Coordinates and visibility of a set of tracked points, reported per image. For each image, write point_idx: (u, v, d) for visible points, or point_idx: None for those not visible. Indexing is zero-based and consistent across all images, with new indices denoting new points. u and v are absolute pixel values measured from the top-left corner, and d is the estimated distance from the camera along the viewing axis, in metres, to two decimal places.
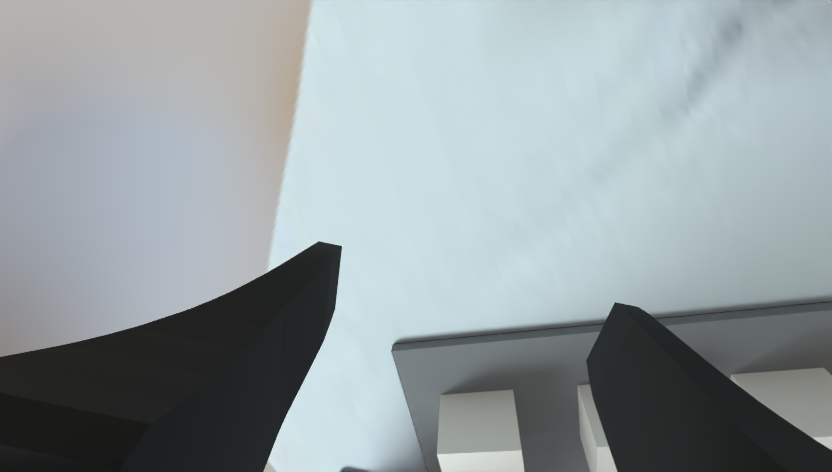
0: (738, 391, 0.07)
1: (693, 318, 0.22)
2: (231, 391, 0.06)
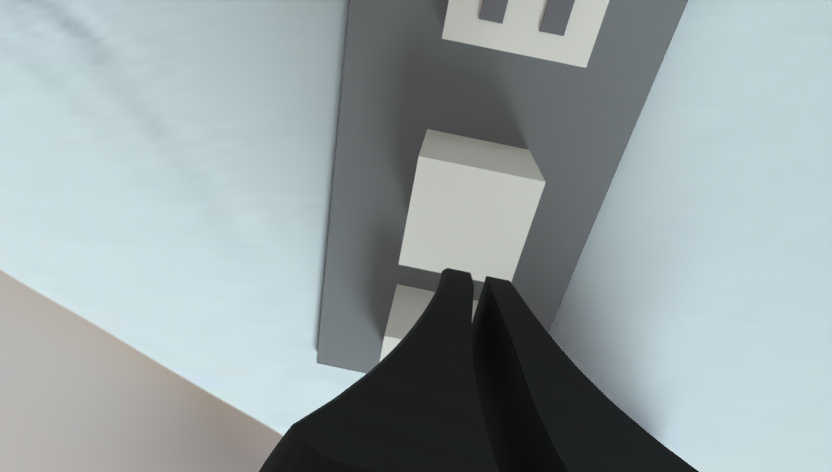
0: (556, 354, 0.07)
1: (345, 68, 0.17)
2: None
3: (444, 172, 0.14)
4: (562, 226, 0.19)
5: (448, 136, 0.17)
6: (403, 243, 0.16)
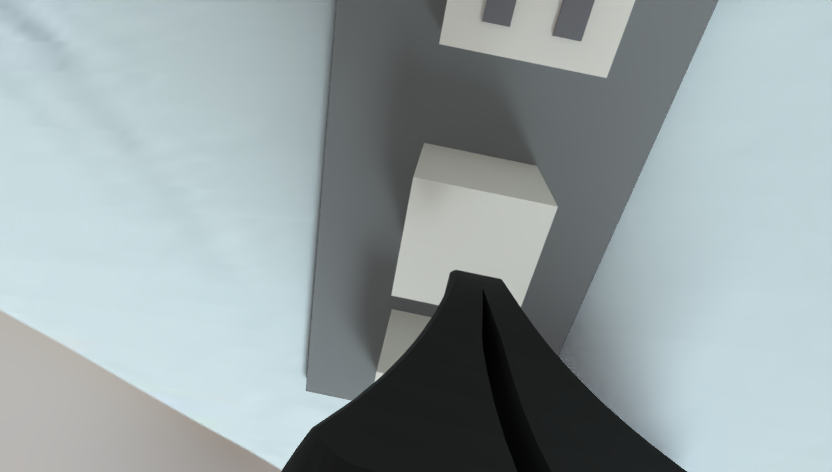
0: (545, 351, 0.07)
1: (333, 76, 0.16)
2: None
3: (442, 196, 0.13)
4: (572, 248, 0.17)
5: (447, 151, 0.16)
6: (396, 272, 0.14)
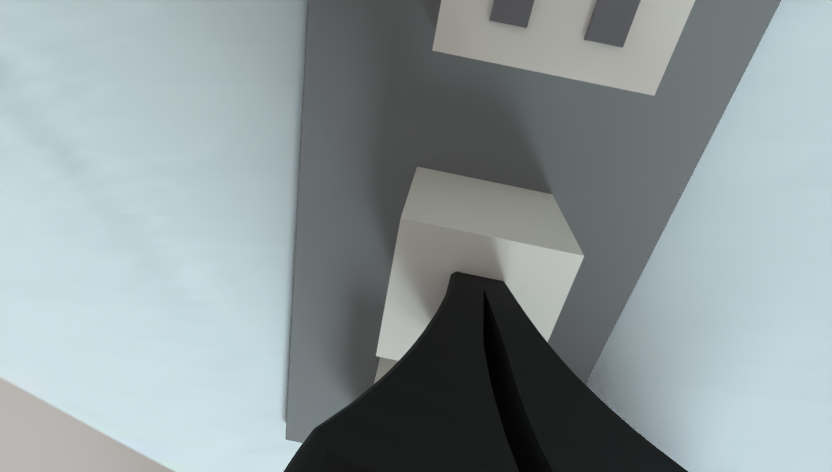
0: (546, 351, 0.07)
1: (307, 86, 0.13)
2: None
3: (438, 241, 0.10)
4: (593, 289, 0.15)
5: (445, 177, 0.13)
6: (382, 330, 0.12)
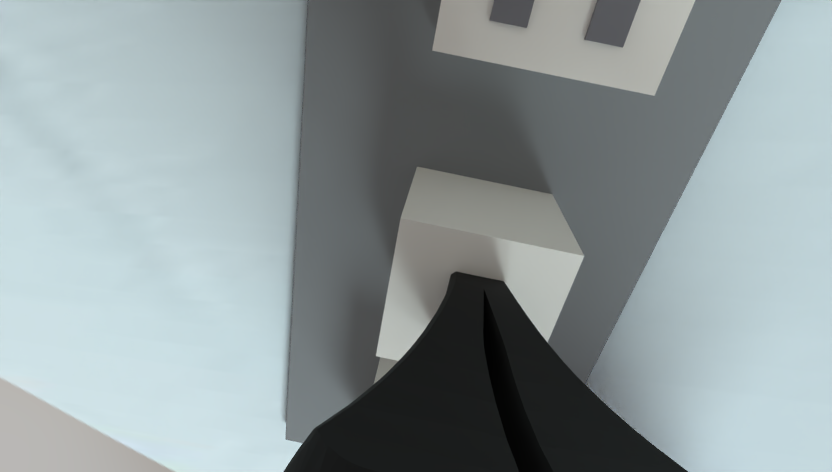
0: (546, 352, 0.07)
1: (307, 86, 0.13)
2: None
3: (438, 241, 0.10)
4: (593, 289, 0.15)
5: (445, 177, 0.13)
6: (381, 330, 0.11)
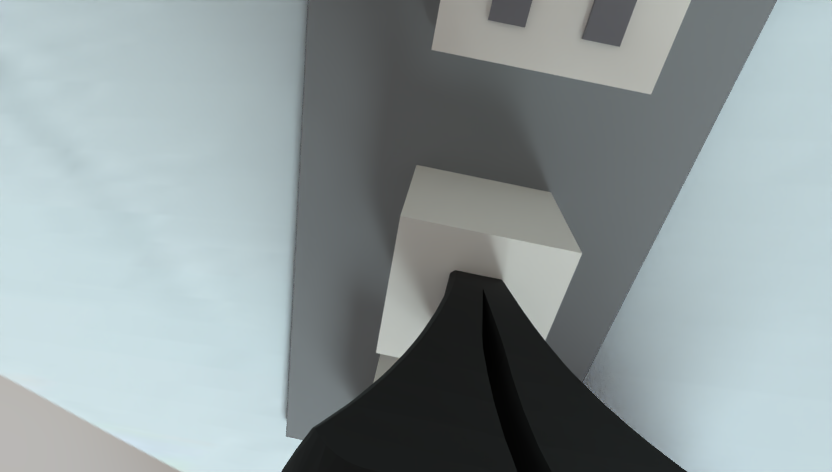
0: (545, 351, 0.07)
1: (307, 85, 0.13)
2: None
3: (437, 238, 0.10)
4: (591, 286, 0.15)
5: (444, 176, 0.13)
6: (381, 327, 0.12)
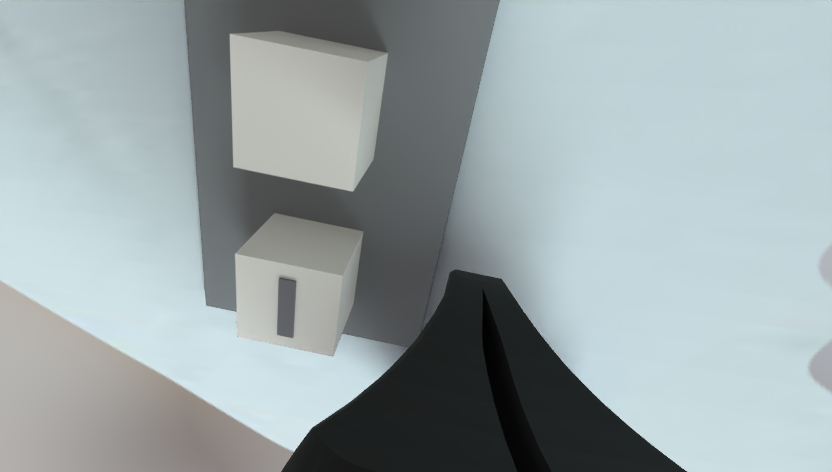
0: (545, 351, 0.07)
1: None
2: None
3: (260, 53, 0.13)
4: (434, 142, 0.18)
5: (297, 35, 0.16)
6: (234, 141, 0.15)
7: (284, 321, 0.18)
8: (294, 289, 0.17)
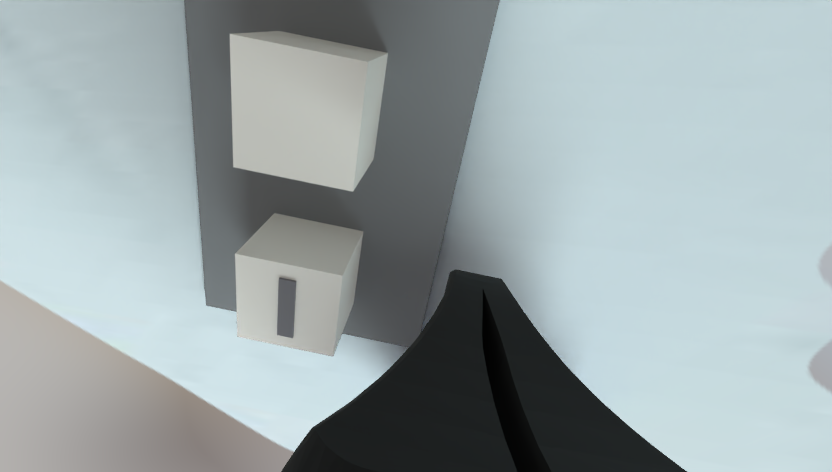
0: (545, 351, 0.07)
1: None
2: None
3: (260, 53, 0.13)
4: (434, 142, 0.18)
5: (297, 35, 0.16)
6: (234, 141, 0.15)
7: (284, 321, 0.18)
8: (294, 289, 0.17)
